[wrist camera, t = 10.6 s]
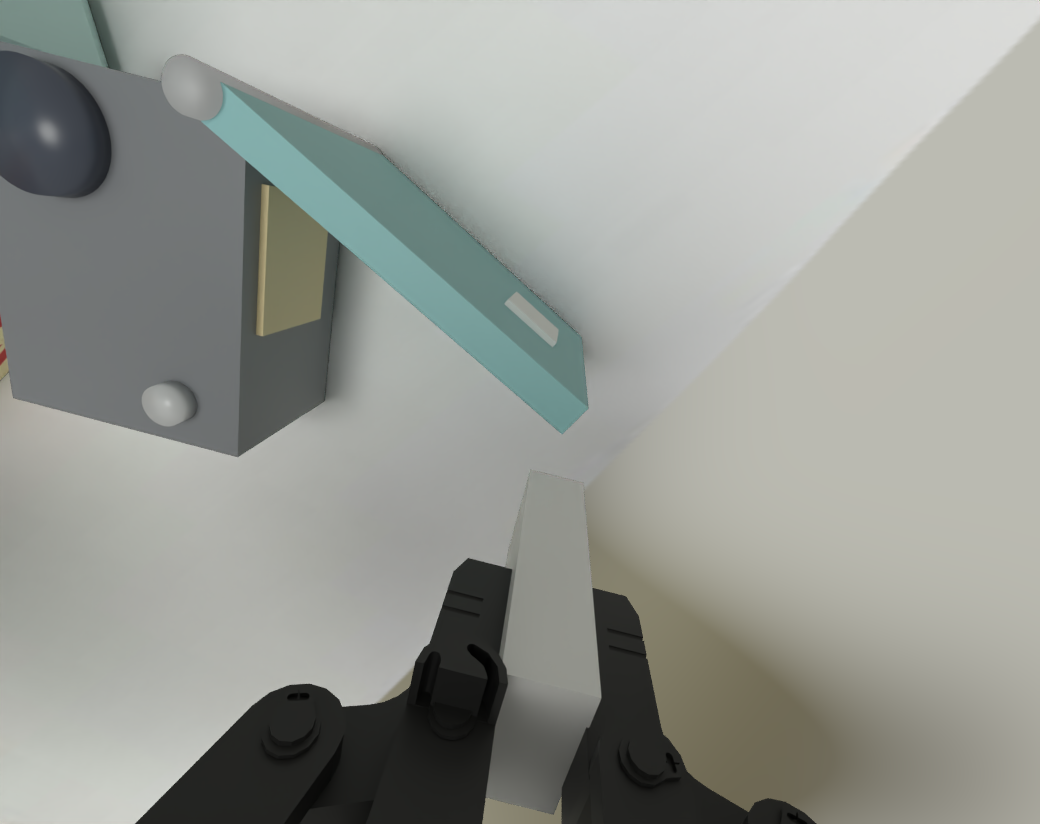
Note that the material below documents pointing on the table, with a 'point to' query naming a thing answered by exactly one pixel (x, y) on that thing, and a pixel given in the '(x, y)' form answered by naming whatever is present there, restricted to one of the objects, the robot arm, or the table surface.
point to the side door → (394, 235)
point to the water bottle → (52, 28)
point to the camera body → (151, 263)
